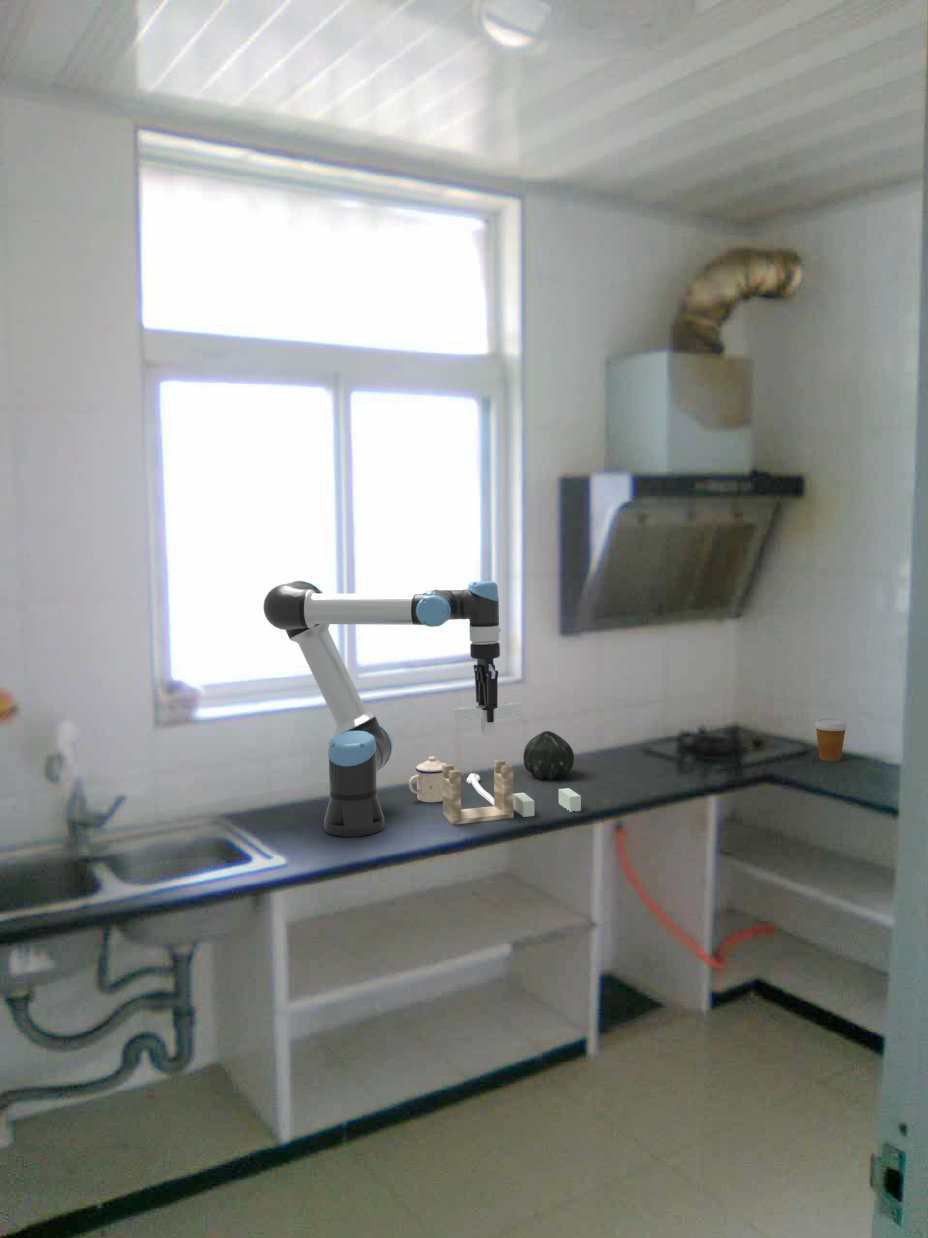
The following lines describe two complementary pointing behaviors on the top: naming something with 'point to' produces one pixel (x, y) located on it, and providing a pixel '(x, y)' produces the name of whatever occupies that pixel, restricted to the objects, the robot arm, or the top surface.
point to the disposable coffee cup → (830, 738)
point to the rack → (496, 812)
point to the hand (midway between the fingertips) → (487, 732)
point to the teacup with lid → (429, 781)
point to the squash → (548, 756)
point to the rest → (566, 799)
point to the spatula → (479, 787)
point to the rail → (478, 713)
